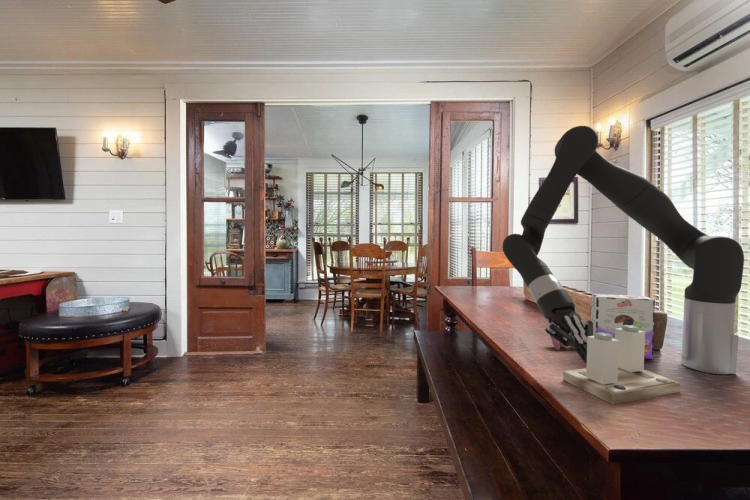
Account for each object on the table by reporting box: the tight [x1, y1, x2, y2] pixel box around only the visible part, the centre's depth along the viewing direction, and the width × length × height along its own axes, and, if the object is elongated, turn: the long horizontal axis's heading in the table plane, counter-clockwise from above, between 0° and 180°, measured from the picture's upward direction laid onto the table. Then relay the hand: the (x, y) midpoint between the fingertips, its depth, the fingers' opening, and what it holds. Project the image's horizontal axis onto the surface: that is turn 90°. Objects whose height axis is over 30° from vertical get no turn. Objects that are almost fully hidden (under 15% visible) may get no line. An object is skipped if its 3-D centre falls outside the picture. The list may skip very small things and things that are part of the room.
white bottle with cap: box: [585, 332, 619, 385], centre depth 74 cm, size 4×4×10 cm
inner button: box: [615, 325, 645, 372], centre depth 81 cm, size 4×4×10 cm
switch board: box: [563, 367, 681, 405], centre depth 77 cm, size 12×19×2 cm, turn 107°
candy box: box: [590, 293, 656, 360], centre depth 98 cm, size 14×6×16 cm, turn 71°
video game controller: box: [549, 334, 581, 351], centre depth 102 cm, size 10×5×7 cm, turn 85°
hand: (591, 361), depth 77 cm, fingers closed
